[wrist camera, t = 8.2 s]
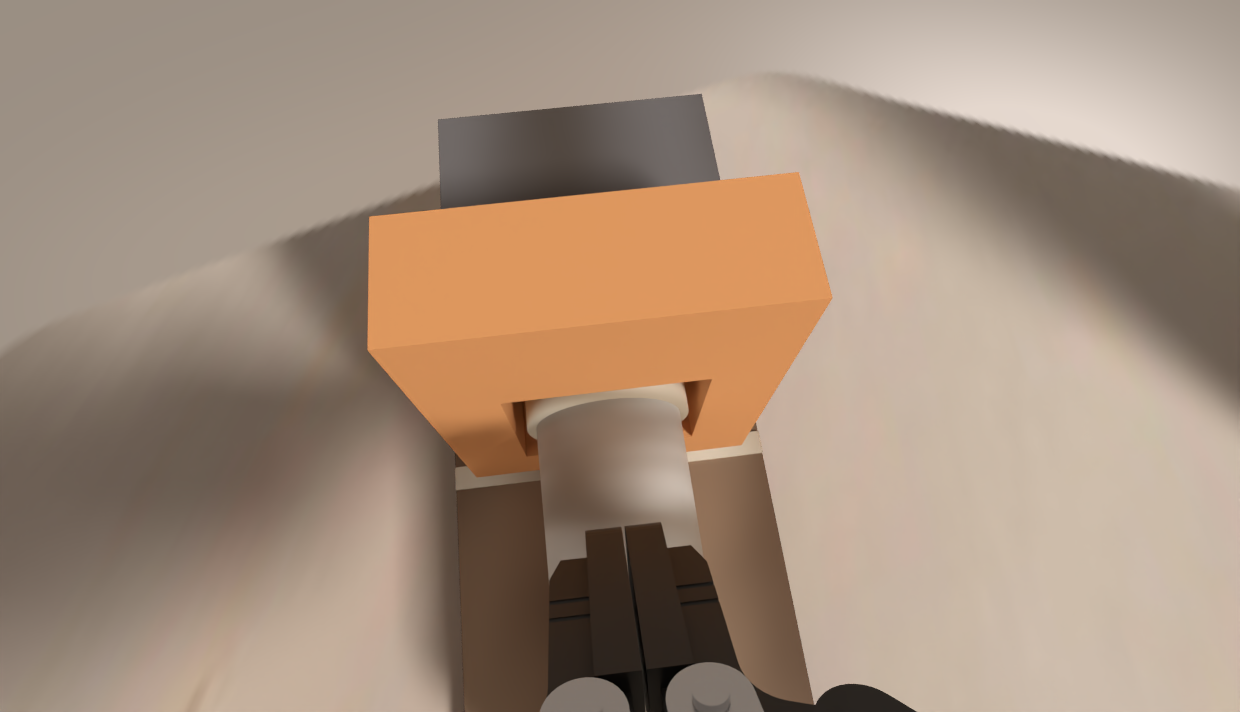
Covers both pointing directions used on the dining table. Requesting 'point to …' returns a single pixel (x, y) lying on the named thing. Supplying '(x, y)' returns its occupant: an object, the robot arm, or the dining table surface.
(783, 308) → the collar
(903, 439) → the dining table surface
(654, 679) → the robot arm
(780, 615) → the pipe stand
